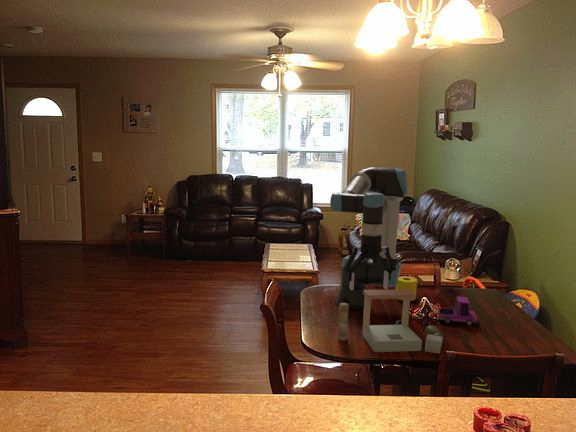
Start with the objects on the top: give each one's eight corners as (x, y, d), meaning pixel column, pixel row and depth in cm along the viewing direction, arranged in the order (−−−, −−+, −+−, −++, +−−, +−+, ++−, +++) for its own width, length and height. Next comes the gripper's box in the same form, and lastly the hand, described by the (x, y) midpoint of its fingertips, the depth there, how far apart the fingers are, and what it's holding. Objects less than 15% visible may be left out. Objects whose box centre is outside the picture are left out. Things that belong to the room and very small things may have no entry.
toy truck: (476, 327, 220) (478, 304, 218) (438, 323, 223) (440, 301, 221) (472, 318, 230) (474, 296, 229) (436, 315, 233) (438, 293, 232)
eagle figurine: (416, 330, 211) (413, 318, 219) (408, 317, 209) (405, 305, 218) (400, 338, 213) (397, 326, 221) (391, 325, 211) (389, 313, 219)
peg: (336, 337, 204) (338, 303, 202) (345, 336, 205) (347, 302, 203) (338, 340, 201) (340, 306, 199) (347, 340, 201) (349, 306, 199)
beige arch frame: (361, 325, 207) (363, 290, 205) (406, 324, 210) (409, 289, 207) (366, 331, 201) (368, 295, 198) (413, 330, 203) (415, 294, 201)
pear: (435, 322, 208) (448, 336, 199) (432, 334, 210) (446, 347, 201) (422, 323, 207) (436, 337, 198) (420, 335, 208) (433, 349, 199)
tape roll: (417, 301, 251) (419, 282, 250) (397, 300, 251) (398, 281, 250) (413, 294, 261) (414, 276, 260) (393, 294, 261) (394, 275, 260)
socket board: (362, 335, 207) (362, 325, 207) (405, 333, 210) (406, 324, 209) (374, 352, 192) (375, 341, 191) (421, 350, 194) (421, 340, 194)
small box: (440, 354, 192) (441, 341, 191) (424, 351, 194) (425, 339, 193) (441, 348, 197) (442, 336, 196) (426, 345, 199) (427, 333, 198)
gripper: (342, 236, 188) (339, 292, 192) (407, 236, 193) (403, 290, 197) (336, 232, 196) (334, 286, 199) (399, 232, 200) (395, 285, 204)
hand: (368, 288), depth 198 cm, fingers open, 13 cm apart
